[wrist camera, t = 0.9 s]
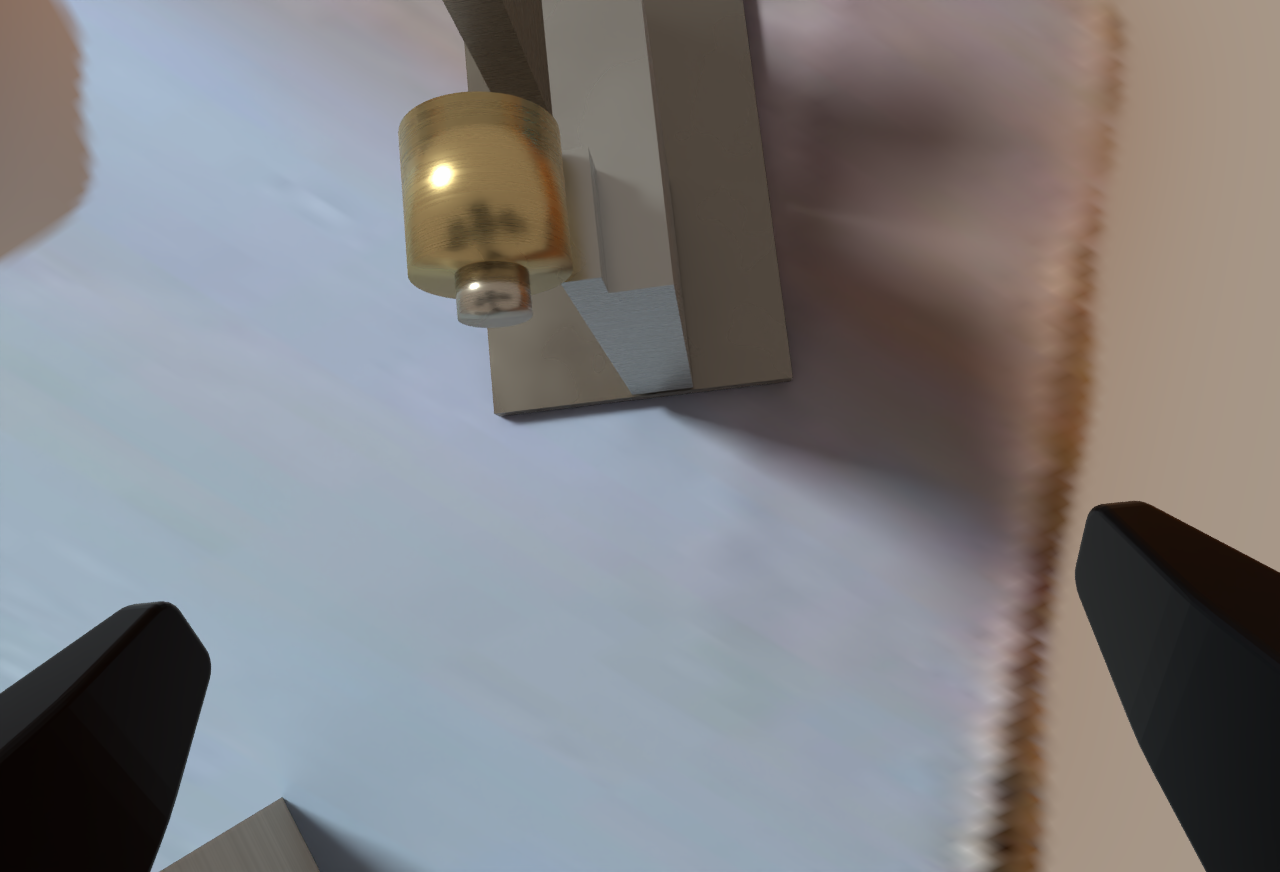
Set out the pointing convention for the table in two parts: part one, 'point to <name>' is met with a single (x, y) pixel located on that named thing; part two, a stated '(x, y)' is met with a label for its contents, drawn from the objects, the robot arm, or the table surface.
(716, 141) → the hinge base
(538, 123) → the brass-capped grey pillar
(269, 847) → the tea bag
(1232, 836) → the robot arm
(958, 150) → the table surface
